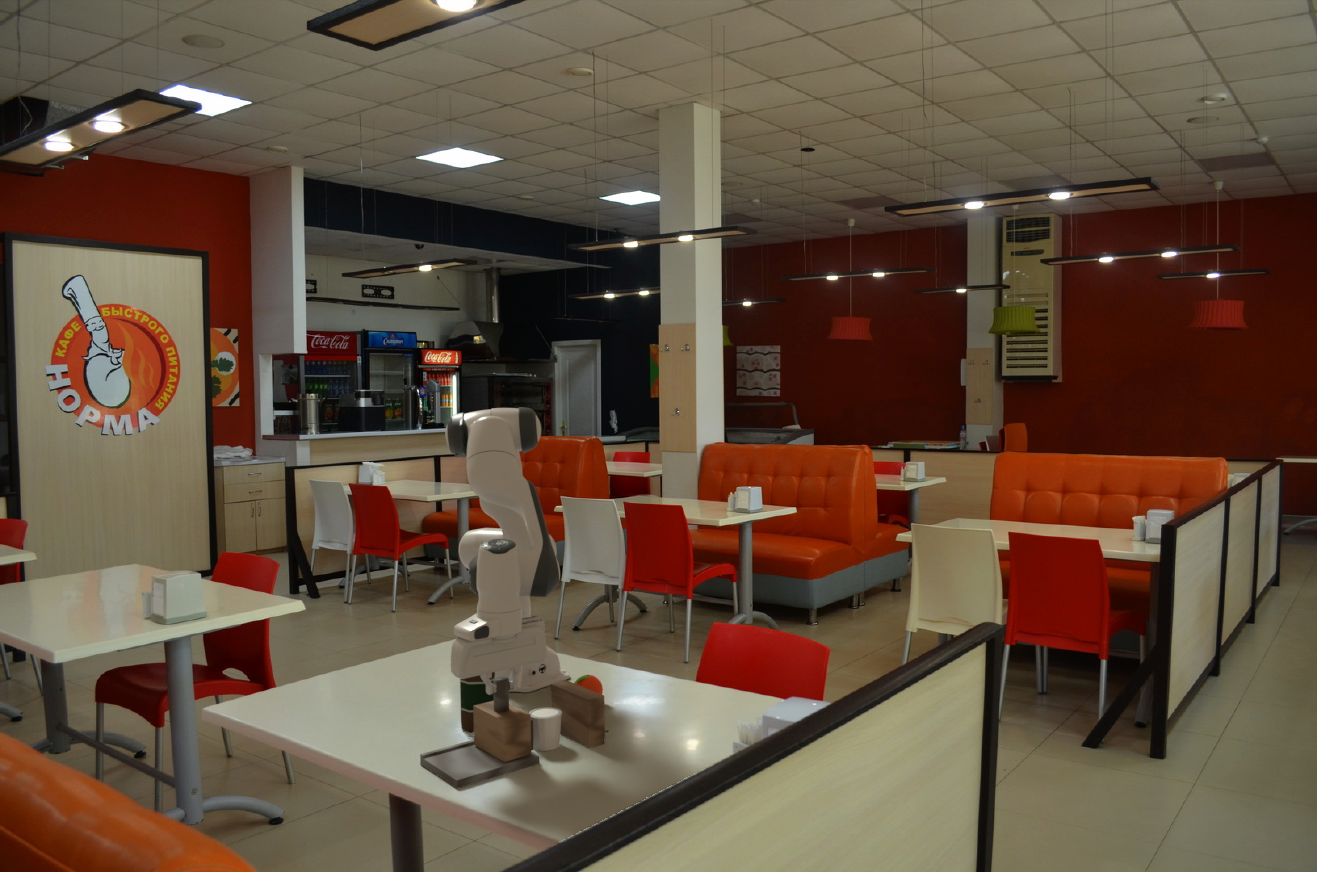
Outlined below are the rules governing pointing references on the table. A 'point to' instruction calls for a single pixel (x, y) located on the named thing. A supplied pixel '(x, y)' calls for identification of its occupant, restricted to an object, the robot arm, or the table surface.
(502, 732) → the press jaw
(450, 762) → the frame
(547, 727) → the white cup
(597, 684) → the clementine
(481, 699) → the beer bottle
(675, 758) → the table surface
